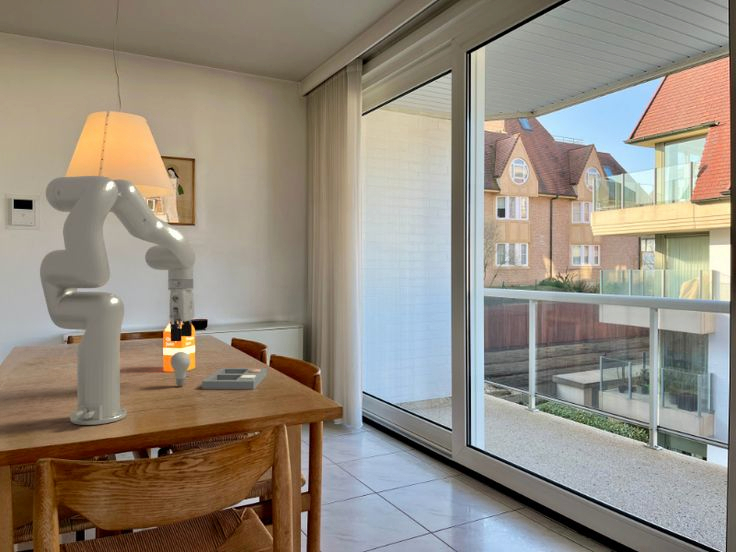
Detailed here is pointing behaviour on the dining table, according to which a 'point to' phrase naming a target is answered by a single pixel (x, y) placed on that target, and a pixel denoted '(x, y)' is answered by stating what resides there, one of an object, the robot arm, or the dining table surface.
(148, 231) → the robot arm
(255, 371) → the socket board
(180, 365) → the lightbulb
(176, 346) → the orange juice
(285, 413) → the dining table surface
